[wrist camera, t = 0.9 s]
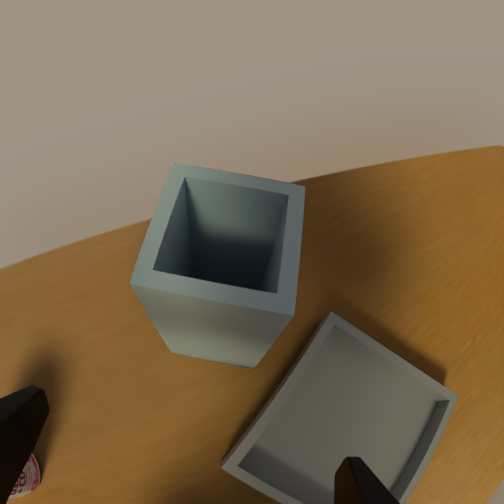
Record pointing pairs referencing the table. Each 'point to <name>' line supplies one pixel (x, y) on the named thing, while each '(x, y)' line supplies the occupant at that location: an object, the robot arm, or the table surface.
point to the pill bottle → (27, 479)
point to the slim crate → (221, 263)
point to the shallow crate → (342, 420)
